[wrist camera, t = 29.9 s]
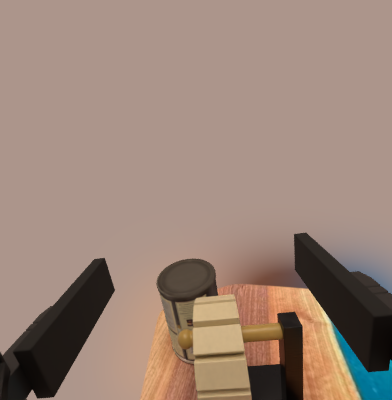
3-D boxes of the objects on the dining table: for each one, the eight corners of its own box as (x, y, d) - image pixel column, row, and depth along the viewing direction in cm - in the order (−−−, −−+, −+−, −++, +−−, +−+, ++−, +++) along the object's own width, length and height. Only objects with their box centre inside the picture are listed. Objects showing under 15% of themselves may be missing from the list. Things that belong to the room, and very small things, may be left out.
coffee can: (202, 307, 47) (193, 252, 43) (236, 338, 38) (228, 274, 35) (162, 335, 41) (147, 275, 38) (190, 378, 33) (174, 308, 29)
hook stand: (194, 473, 24) (168, 377, 19) (196, 376, 33) (180, 298, 29) (325, 468, 23) (329, 365, 18) (288, 370, 32) (285, 287, 28)
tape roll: (206, 441, 21) (189, 364, 18) (205, 340, 32) (194, 280, 29) (256, 439, 21) (247, 360, 18) (238, 338, 31) (231, 276, 28)
